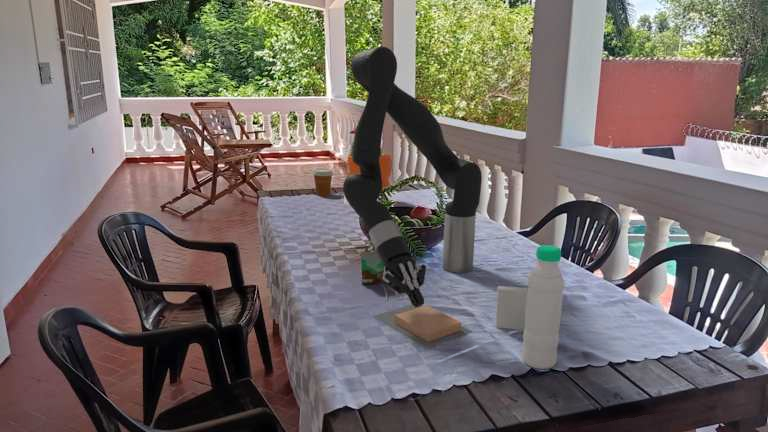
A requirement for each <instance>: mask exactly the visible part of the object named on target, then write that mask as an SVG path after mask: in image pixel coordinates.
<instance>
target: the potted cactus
mask: <svg viewBox="0 0 768 432" xmlns="http://www.w3.org/2000/svg"><path fill="white" fill-rule="evenodd" d="M355 127H356V128H357V126H355ZM356 128H352V130H351V131H350V132H349V134H352V135H355V131H356ZM383 131H384V130H383ZM383 131H382V133H383ZM350 143H351V146H350V148H349V150H350V152H349V153H348V154H347V158H346V171H347V175H348V176H349V175H352V174H360V175H361V173H360V167H359V166H358V165H357V164H355V163H354V162H353V159H352V154H353V145H354V139H352V141H351V142H350ZM382 150H383V148H382V147H381V148H380V157H379V163H380V168H381V177H382V189H383V188H384V187H386V186H389V187H390V181H389V178H390V177H391V173H392V166H393V165H392V164H393V163H392V156H391V154H389V153H386V152H383V151H382ZM348 176H347V177H348ZM343 195H344V194H343ZM343 202H344V204H345V205H346V206H351V205H350V204H349V202H348V201H347V199H346V197H345V195H344V196H343Z"/></svg>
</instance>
